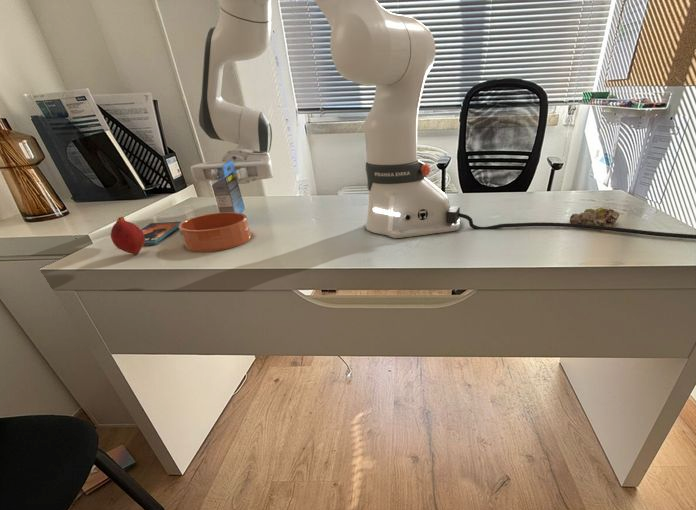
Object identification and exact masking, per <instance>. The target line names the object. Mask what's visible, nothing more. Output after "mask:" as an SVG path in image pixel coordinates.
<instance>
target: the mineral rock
mask: <svg viewBox="0 0 696 510" xmlns="http://www.w3.org/2000/svg"><path fill="white" fill-rule="evenodd" d="M619 217H620V212H618V211H616V210H614V209H613V208H605V207H599V208H595V209H593V208H586V209H585V210H584V212H580V213H572V214H571V216H570V217H569V223H573V224H587V225H598V226H608V227H613V225H614V224H615V223H616V222H617V221H618V220H619Z"/></svg>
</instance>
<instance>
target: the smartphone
mask: <svg viewBox="0 0 696 510" xmlns="http://www.w3.org/2000/svg"><path fill="white" fill-rule="evenodd" d="M182 222H183V221H166V222H163V221H162V222H151V223H148V224H147V225H146V226H144V227H142V228H141V231H142V232H143V234H144V237H145V244H144V245H143V246H155V245H158V244H159V243H160V242H161V241H162V240H164V239H165V238H167V236H169V235H170V234H172V233H173V232H175V231H176V230H177V229H179V228H178V227H179V224H180V223H182Z"/></svg>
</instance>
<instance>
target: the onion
mask: <svg viewBox="0 0 696 510" xmlns="http://www.w3.org/2000/svg"><path fill="white" fill-rule="evenodd" d="M141 229H142V228H141ZM141 229H140V227H138V226H137V225H136V224H135V223H133V222H130V221H129V220H128V221H127V220H125V217H124V216H123V215H121V216H118V217H117V219H116V222H115V223H113V225H112V228H111V231H110V239H111V242H112V243H113V245H114V246H115V247H116V248H117V249H119V250H120V251H122V252H125V253H128V254H130V255H134V256H135V255H138V254H139V253H140V252H141V250H142V248H143V247H144V246H145V245H144V244H145V237H144V234H143V232H142V231H141Z"/></svg>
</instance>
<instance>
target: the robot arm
mask: <svg viewBox="0 0 696 510" xmlns="http://www.w3.org/2000/svg"><path fill="white" fill-rule="evenodd" d="M313 2H314V3H315V4H316V6H317V7H318V8H319V10H320V12H321V13H322V14H323V15H324V17H325V19H326V21H327V23H328V25H329V28H330V31H331V33H330V38H329V39H330V41H329V48H330V55H331V59H332V62H333V65H334V67H335V69H336V71H337V73H339V75H340V76H341V77H342V78H344V79H345V80H347V81H350V82H353V83H354V84H358V85H361V86H366V87H375V93H374V98H373V102H372V105H371V108H370V110H369V112H368V114H367V115H366V117H365V118H364V119H365V120H364V124H363V126H364V128H363V129H364V138H365V139H364V140H365V152H366V162H365V182H366V187H367V190H368V207H367V218H366V222H365V228H366V230H367V231H369V232H371V233H374V234H377V235H383V236H384V235H385V236H387V237H390V238H394V239H401V238H402V239H403V238H409V237H416V236H424V235H425V236H426V235H432V234H440V233H449V232H455V231H458V230H460V228H461V220H460V218H462V219H465V220H467V221H468V224H469V227H470V228H472V229H474V230H496V229H503V228H522V227H523V228H525V227H558V228H559V227H560V228H578V229H587V230H588V229H590V230H598V231H606V232H617V233H626V234H635V235H642V236H643V235H645V236H651V237H652V236H653V237H664V238H677V239H688V240H689V239H691V240H696V234H693V233H691V234H690V233H677V232H663V231H653V230H644V229H643V230H642V229H634V228H625V227H618V226H612V227H608V226H598V225H587V224H573V223H570V222H545V221H544V222H543V221H541V222H538V221H537V222H513V223H512V222H511V223H508V222H507V223H498V224H494V225H487V226H479V225H476V224H474V222H473V218H472V217H471V216H470V215H468V214H466V213H461V206H458V205H457V206H456V205H455V206H454V205H451V204H450V199H449V197H448V195H447V194H446V193H445V192H444V191H443V190H441V189H440V188H439V187H438V186H436V184H434V183H433V182H432V181H430V179H428V178H427V176H428V175H429V174H430V173H431V170H432V169H431V167H430V166H429V164H427V163H425V162H423V161H422V160H419V159H418V117H419V109H420V104H421V98H422V95H423V90H424V85H425V82H426V78H427V77H428V74H429V72H430V71H431V70H432V68H433V65H434V62H435V59H436V42H435V38H434V36H433V34H432V33H433V32H431V30H430V29H429V28H428V27H427V26H426V25H424V24H423V23H422V21H420V20H418V19H417V18H415V17H413V16H410V15H405V14H400V13H399V14H398V13H393V12H390V11H389V10H387V9H386V8H384V7H383V6H382V5H381V4H380V3H379V1H378V0H313ZM271 35H272V0H219V17H218V21H217V24H216V26H213V27H210V29H209V30H208V32H207V35H206V38H205V42H204V43H205V44H204V53H203V67H202V79H201V80H202V81H201V82H202V84H201V95H200V96H201V97H200V104H199V110H198V124H199V127H200V128H201V129H202V131H203V132H204V133H205V134H206V136H207V137H209V138H210V139H212V140H217V141H223V142H224V141H225V142H229V143H232V144H236V145H237V146H236V147H233V148H231V149H229V150H228V151H225V153H224V154H223V156H222V159H221V160H220V161H205V162H200V163H197V164H193V165H191V166H190V172H191V175H192V178H193V180H194V181H195V182H213V181H214V182H217V181H218V180H219V179H221V178H222V177H224V172H223V168H222V165H224V164H225V163H227V162H229V161H230V160H233V164H234V170H235V171H232V175H233V179H237V181H238V185H247V184H250V183H253V182H255V181H260V180H266V179H267V180H268V179H272V178H274V177H275V173H274V167H273V164H272V163H273V162H272V159H271V156H270V151H271V148H272V141H273V129H272V126H271V123H270V121H269V120H268V117H267V116H266V115H265V113H264V112H263V111H259V110H257V109H253V108H249V107H247V106H242V105H238V104H235V103H232V102H228V101H226V100H225V99H224V98H223V97H222V85H223V78H224V77H223V76H224V75H223V74H224V67H225V65H226V64H230V63H233V62H240V61H241V62H242V61H249V60H253V59H256V58H258V57H260V56H262V55H263V54H264V53H265V52H266V51H267V49H268V48H269V46H270V43H271ZM229 170H230V167H228V168H227V171H229Z"/></svg>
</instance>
